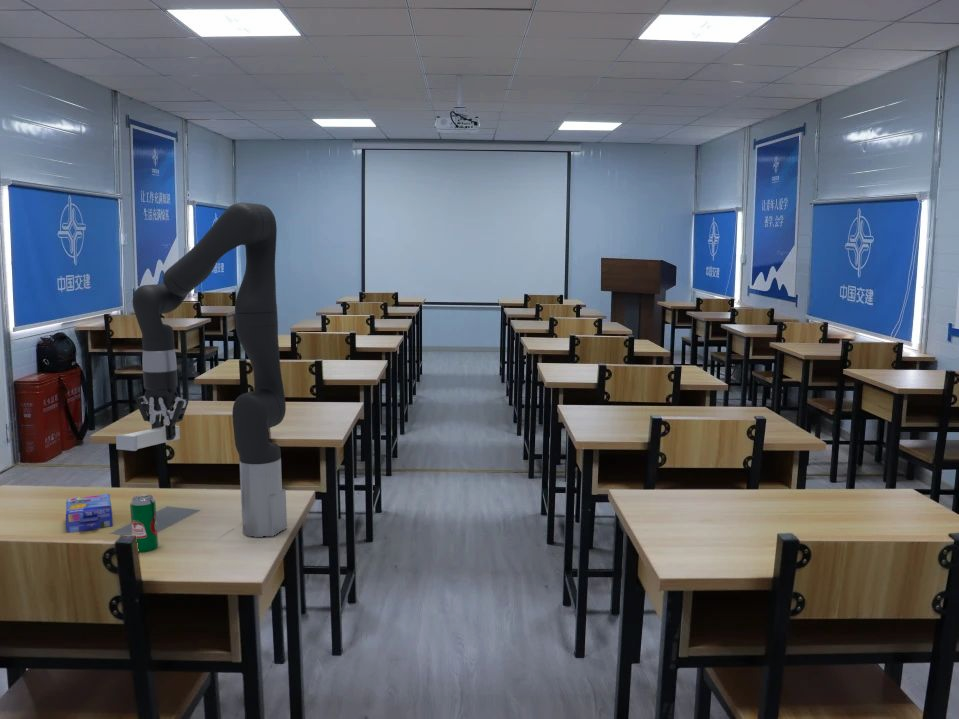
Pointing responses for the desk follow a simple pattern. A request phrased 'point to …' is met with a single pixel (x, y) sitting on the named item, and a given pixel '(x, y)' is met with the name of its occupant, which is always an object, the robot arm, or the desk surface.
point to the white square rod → (143, 438)
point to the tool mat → (162, 519)
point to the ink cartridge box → (88, 513)
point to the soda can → (144, 522)
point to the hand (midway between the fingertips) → (164, 438)
